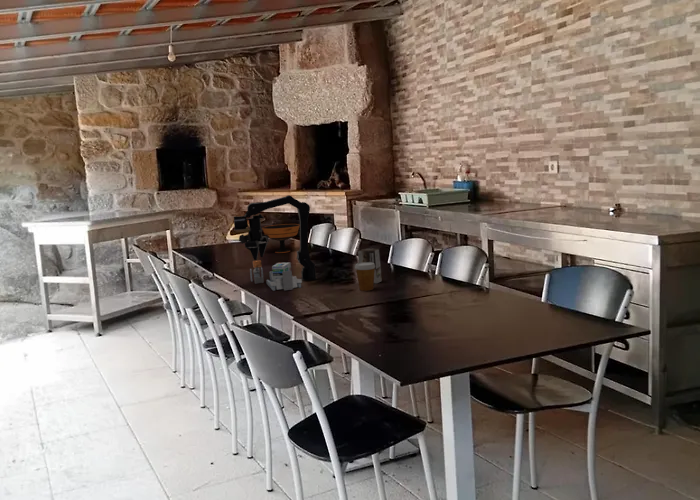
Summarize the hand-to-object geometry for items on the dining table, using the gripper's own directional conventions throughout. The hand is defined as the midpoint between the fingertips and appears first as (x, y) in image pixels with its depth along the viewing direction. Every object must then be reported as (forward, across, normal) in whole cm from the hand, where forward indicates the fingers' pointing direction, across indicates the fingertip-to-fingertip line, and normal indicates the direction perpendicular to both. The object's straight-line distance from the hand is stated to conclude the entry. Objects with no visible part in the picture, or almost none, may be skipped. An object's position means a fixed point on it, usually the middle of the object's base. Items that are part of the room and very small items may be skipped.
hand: (258, 258), depth 330 cm
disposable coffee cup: (+14, +18, +58) cm, 62 cm away
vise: (+13, 0, +7) cm, 15 cm away
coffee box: (+15, +1, +57) cm, 59 cm away
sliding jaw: (+13, +13, +18) cm, 26 cm away
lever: (+7, -7, -4) cm, 11 cm away
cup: (+14, -111, -25) cm, 114 cm away
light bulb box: (+14, +3, +12) cm, 19 cm away
